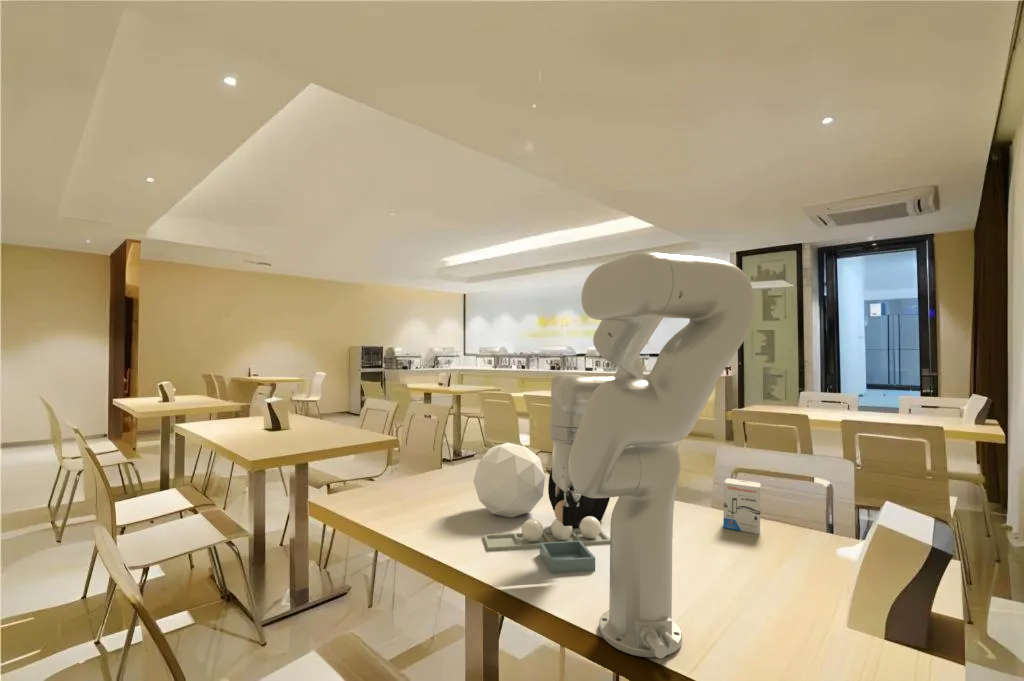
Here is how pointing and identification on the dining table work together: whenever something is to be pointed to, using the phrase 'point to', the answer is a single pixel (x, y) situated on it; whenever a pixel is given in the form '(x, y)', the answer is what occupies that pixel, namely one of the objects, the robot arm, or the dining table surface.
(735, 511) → the ink box
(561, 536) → the white egg
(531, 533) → the white egg
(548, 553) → the dish
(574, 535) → the carton
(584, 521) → the white egg
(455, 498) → the dining table surface
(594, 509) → the headphones
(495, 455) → the polyhedron
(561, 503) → the brown egg
